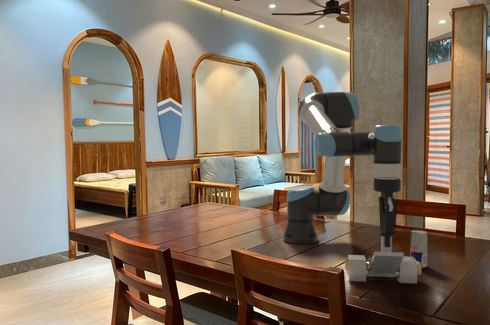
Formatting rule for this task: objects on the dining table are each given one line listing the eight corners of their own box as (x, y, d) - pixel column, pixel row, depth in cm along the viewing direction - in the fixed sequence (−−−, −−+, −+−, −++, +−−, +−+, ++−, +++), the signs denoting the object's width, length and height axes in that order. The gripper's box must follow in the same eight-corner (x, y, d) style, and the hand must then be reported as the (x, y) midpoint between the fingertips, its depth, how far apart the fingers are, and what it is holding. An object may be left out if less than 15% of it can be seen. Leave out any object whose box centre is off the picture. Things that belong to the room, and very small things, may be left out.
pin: (346, 273, 127) (346, 261, 127) (345, 269, 131) (345, 258, 130) (421, 276, 123) (421, 263, 123) (418, 272, 127) (418, 260, 127)
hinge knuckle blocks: (349, 280, 126) (349, 259, 126) (346, 268, 138) (346, 249, 138) (417, 283, 123) (417, 261, 123) (407, 270, 135) (407, 250, 135)
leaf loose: (374, 255, 116) (372, 240, 118) (368, 276, 128) (366, 262, 131) (403, 256, 114) (401, 241, 117) (394, 277, 127) (392, 263, 130)
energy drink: (407, 263, 142) (407, 230, 142) (421, 263, 143) (422, 229, 142) (414, 268, 137) (415, 233, 136) (430, 268, 137) (430, 233, 137)
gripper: (405, 180, 111) (404, 264, 113) (395, 175, 124) (394, 251, 126) (377, 180, 112) (376, 263, 114) (370, 175, 125) (369, 250, 127)
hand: (386, 256), depth 120 cm, fingers closed
